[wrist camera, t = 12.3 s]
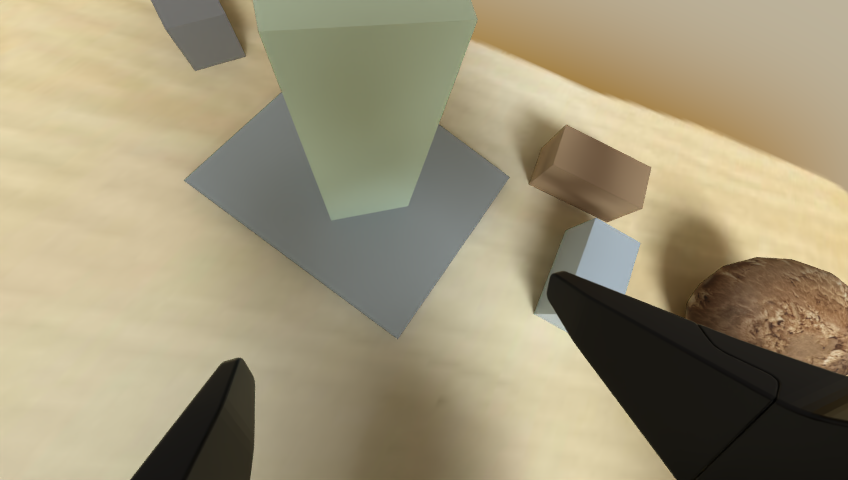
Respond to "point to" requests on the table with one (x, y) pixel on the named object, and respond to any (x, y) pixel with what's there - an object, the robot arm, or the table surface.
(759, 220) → the table surface
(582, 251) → the dusty blue brick
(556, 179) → the walnut brick
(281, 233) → the slate mat
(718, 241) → the table surface
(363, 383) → the table surface
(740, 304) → the mushroom
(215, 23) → the charcoal brick
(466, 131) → the table surface
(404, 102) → the sage brick
